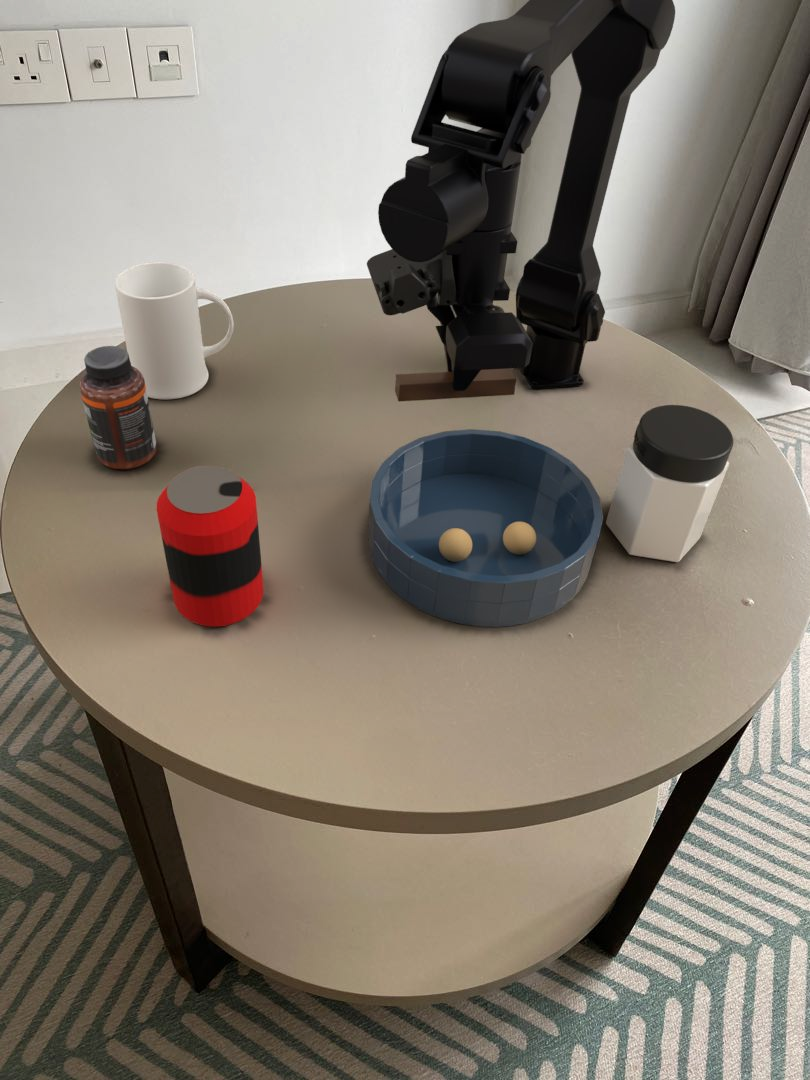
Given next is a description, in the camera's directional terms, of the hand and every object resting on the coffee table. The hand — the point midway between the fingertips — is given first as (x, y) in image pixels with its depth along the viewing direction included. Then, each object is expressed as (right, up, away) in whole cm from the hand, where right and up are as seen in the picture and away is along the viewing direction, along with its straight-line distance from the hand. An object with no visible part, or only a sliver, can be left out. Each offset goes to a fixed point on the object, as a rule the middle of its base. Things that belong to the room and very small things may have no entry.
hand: (456, 383), depth 80 cm
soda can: (-21, -19, -5) cm, 29 cm away
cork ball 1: (0, -15, -2) cm, 15 cm away
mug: (-30, +4, +18) cm, 35 cm away
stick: (0, -1, +1) cm, 1 cm away
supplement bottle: (-33, -6, +8) cm, 34 cm away
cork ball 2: (+6, -14, -1) cm, 15 cm away
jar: (+19, -14, +4) cm, 24 cm away
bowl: (+2, -15, +1) cm, 15 cm away
